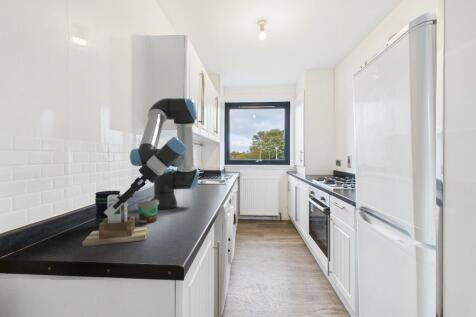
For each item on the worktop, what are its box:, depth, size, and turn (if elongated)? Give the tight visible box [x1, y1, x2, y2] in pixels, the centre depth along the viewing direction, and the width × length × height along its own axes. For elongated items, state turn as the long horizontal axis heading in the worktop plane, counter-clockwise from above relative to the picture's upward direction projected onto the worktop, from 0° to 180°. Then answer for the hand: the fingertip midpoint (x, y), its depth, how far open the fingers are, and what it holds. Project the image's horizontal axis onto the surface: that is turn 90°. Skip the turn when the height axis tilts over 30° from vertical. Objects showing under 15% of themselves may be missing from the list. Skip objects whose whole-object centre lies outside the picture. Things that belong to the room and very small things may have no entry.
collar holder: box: [81, 215, 148, 247], centre depth 92 cm, size 13×20×6 cm, turn 107°
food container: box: [137, 197, 159, 225], centre depth 114 cm, size 12×6×10 cm, turn 168°
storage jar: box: [94, 190, 121, 230], centre depth 108 cm, size 10×10×15 cm
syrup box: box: [107, 193, 128, 223], centre depth 92 cm, size 6×6×14 cm
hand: (111, 210), depth 91 cm, fingers open, 13 cm apart
